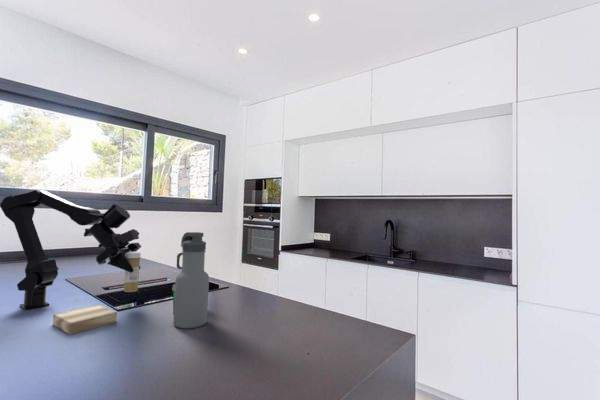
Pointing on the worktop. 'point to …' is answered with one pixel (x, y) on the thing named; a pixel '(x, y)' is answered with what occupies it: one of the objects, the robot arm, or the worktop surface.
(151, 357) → the worktop surface
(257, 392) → the worktop surface
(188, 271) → the water bottle
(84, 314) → the oak stand
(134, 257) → the sprinkles bottle
